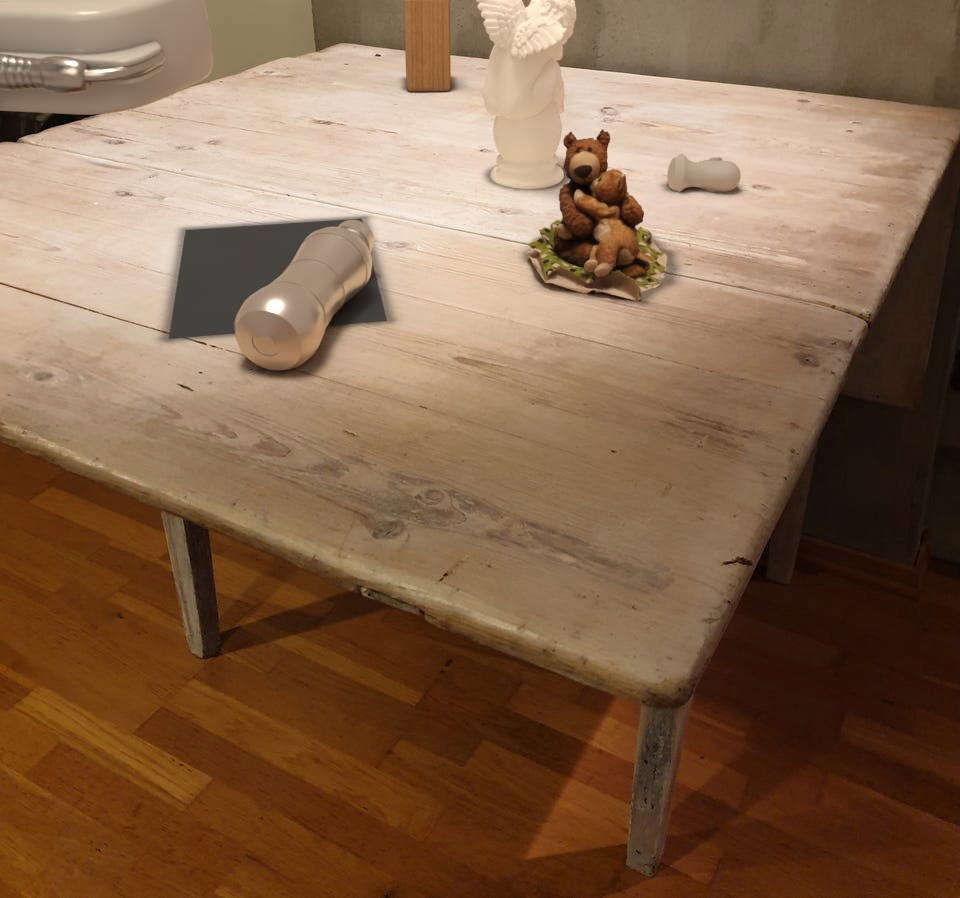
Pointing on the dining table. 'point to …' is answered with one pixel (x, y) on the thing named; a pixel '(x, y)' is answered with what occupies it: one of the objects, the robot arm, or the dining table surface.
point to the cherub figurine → (526, 87)
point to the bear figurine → (597, 229)
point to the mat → (248, 276)
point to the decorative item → (427, 45)
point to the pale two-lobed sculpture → (702, 174)
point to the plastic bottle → (305, 297)
